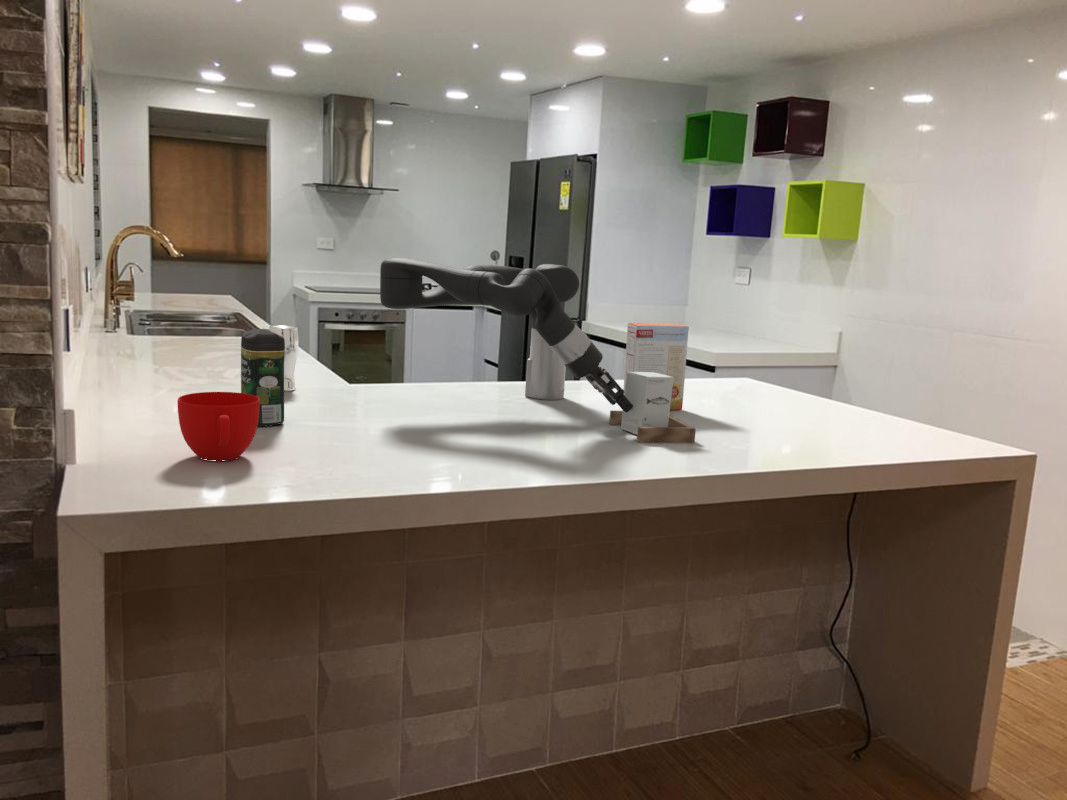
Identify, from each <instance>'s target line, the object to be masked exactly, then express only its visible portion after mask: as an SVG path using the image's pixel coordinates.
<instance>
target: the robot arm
mask: <svg viewBox="0 0 1067 800" xmlns="http://www.w3.org/2000/svg"><path fill="white" fill-rule="evenodd" d="M379 272H380V273H379V275H380V279H379V283H380V284H379V285H380V286H379V287H380V288H379V291H380V293H379V294H380V295H379V296H380V297H379V298H380V303H381V305H382V306H383V307H384V308H387V309H392V310H405V309H406V310H409V309H410V310H411V309H420V308H427V307H428V308H429V307H438V306H439V307H440V306H474V305H475V306H487V307H489V306H490V307H492V308H494V309H497V310H499V311H501V312H504V313H507V314H509V315H511V316H514V317H515V316H516V317H523V316H528V315H529V318H530V321H531V332H530V333H531V335H530V346H529V348H530V350H529V358H527V360H526V372H525V373H526V375H525V376H526V377H525V387H524V388H525V391H524V393H525V394H524V396H525V397H527V398H528V397H529V398H532V399H536V400H548V401H549V400H550V401H551V400H552V401H555V400H562V399H564V396H565V384H566V383H565V382H566V369H567V370H568V371H569V372H570V373H571V375H573V377H574V378H576V379H581V378H584V377H585V378H586V380H587V382H588V383H590V385H591V386H592V387H593V389H595V390H596V391H597V392H598V393H600V394H601V395H603V397H605V399H606V400H607V401H608V403H609V404H610V405H611V406H614V405H616V404H617V406H619V407H620V409H621V411H624V412H626V413H627V412H628V411H629V410H630V409H632V407H633V405H632V404H631V402H630V401H629V400H628V399H627V398H626V397H625V395H624V393H625V392H624V390H623V387H621V386H620V384H618V382H617V381H616V380H615V379H614V378H613V377H612V376H611V374H610V373H609V372H608V370H606V368H602V367H601V366H600V363H602V360H603V353H602V352H601V351H600V350H599V349H598V348H597V346H596V345H595V344H594V343H593V342H592V340H591V339H590V337H589V336H587V334H586V333H585V332H584V331H583V330H582V329H581V328H580V327H579V326H578V325H577V324H576V323H575V322H574V321H573V320H572V318H571V317H570V316H569V314H567V312H565V311H564V308H563V307H562V303H566V302H568V301H570V300H571V299H572V300H573V298H574V297H575V296H576V295H577V293H578V291H579V289H580V280H579V276H578V274H577V273H576V272H575V271H574V270H573V269H572V268H570V267H568V266H566V265H562V264H552V263H543V264H540V265H537V267H536V268H529V267H528V268H519V267H514V266H513V267H512V266H507V265H506V266H505V265H494V264H493V265H492V264H487V265H486V264H482V265H481V264H477V265H476V264H474V265H473V264H472V265H468V266H465V267H463V268H457V267H452V266H448V265H444V264H440V263H436V262H430V261H425V260H419V259H415V258H409V257H408V258H407V257H392V258H387V259H384V260H383V261H382V262H381V263H380V271H379ZM423 277H426V278H428V279H430V280H431V281H434V282H435V283H436V284H437V286H435V287H433V288H431V289H428V290H425V291H423ZM614 389H616V392H615V391H614Z"/></svg>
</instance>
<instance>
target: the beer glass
mask: <svg viewBox="0 0 1067 800" xmlns="http://www.w3.org/2000/svg"><path fill="white" fill-rule="evenodd" d="M268 329H269V330H270V331H272V332H274V333H276V334H278V335H280V336H282V337H283V338H284V340H285V358H284V392H293V391H295V390H297V389H296V382H295V381H296V380H295V371H296V364H297V360H298V353H299V331H298V329H299V328H298V326H293V325H270V326H269V327H268Z"/></svg>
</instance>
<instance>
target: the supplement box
mask: <svg viewBox="0 0 1067 800" xmlns="http://www.w3.org/2000/svg"><path fill="white" fill-rule="evenodd" d="M673 379H674V377H671V376H667V375H663V374H659V373H655V372H627V376H626V386H625V397H626V398H627V399H628V400H629V401H630V402H631V404H632V405H633V407H632V409H630V410H629V411H628V412H627V413H626V412H624V411H623V410H622V411H623V413H622V422H621V425H620V429H622V430H623V431H627V432H629V433H631V434H634V435H637V436H638V427H668V422H669V415H670V412H671V410H670V404H671V396H672V387H673Z"/></svg>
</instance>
